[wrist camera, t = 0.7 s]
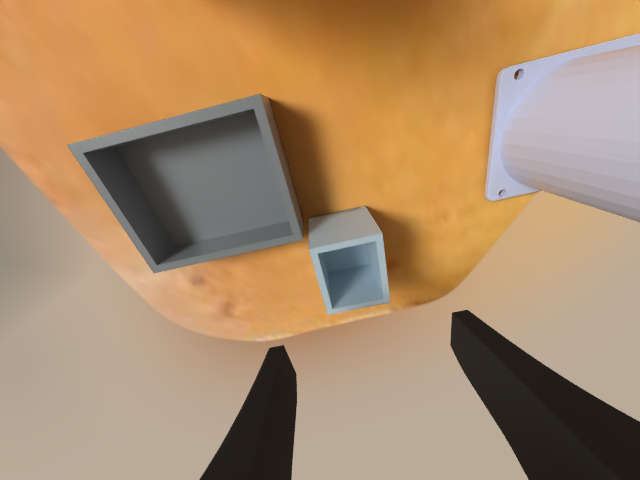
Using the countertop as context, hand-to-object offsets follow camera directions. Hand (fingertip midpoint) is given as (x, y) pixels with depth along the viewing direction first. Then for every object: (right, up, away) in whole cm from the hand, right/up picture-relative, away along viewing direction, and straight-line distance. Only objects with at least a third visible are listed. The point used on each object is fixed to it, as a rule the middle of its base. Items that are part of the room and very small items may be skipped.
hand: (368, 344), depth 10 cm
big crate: (-9, +8, +6) cm, 13 cm away
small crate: (0, +4, +8) cm, 9 cm away
